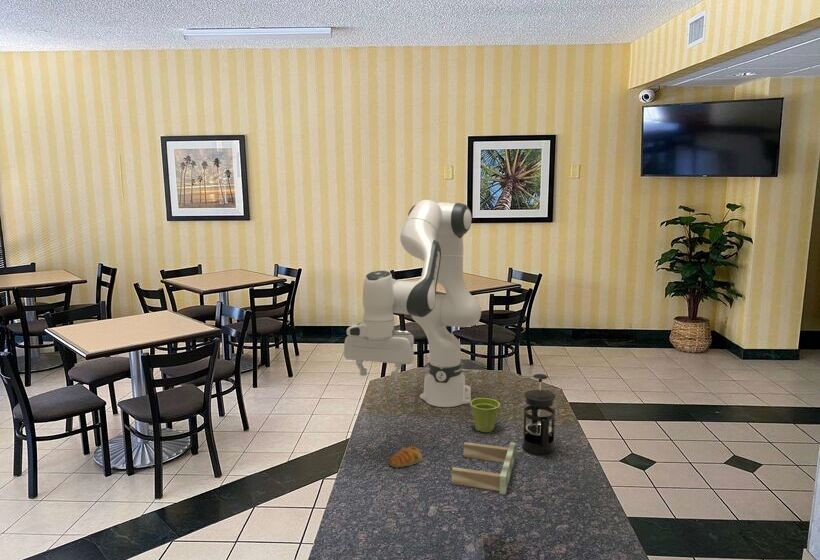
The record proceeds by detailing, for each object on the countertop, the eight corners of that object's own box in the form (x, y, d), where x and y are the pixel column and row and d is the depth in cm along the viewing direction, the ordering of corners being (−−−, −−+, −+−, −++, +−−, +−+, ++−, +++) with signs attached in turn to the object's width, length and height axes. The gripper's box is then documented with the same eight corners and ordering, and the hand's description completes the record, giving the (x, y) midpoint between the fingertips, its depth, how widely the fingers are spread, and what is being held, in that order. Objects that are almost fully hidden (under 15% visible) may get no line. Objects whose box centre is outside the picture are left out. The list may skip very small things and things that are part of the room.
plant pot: (493, 421, 198) (493, 396, 196) (503, 433, 188) (504, 407, 187) (466, 424, 196) (466, 399, 194) (475, 436, 187) (475, 410, 185)
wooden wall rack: (465, 452, 176) (465, 436, 175) (515, 458, 172) (515, 442, 171) (450, 486, 157) (450, 469, 156) (505, 494, 153) (505, 476, 152)
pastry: (398, 472, 165) (398, 459, 164) (384, 463, 170) (383, 451, 169) (424, 462, 171) (424, 449, 170) (409, 454, 176) (409, 441, 175)
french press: (517, 441, 183) (519, 369, 179) (547, 439, 184) (550, 368, 179) (529, 459, 171) (531, 383, 167) (560, 457, 172) (563, 382, 168)
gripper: (417, 329, 168) (416, 376, 170) (349, 324, 174) (350, 370, 176) (410, 333, 162) (410, 382, 164) (341, 329, 168) (341, 376, 170)
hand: (378, 376), depth 170 cm, fingers open, 8 cm apart
